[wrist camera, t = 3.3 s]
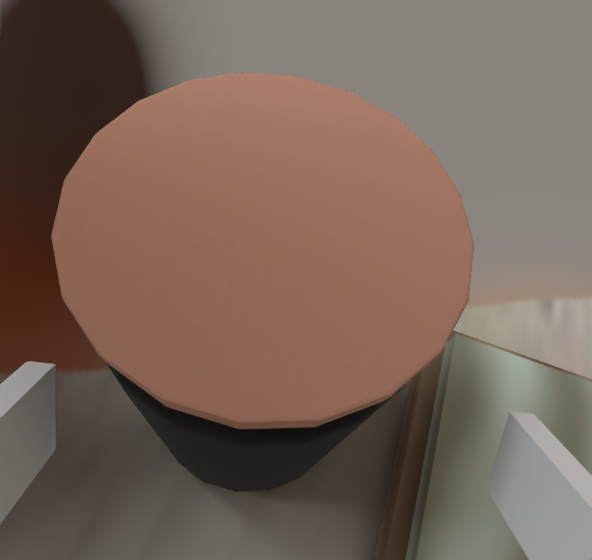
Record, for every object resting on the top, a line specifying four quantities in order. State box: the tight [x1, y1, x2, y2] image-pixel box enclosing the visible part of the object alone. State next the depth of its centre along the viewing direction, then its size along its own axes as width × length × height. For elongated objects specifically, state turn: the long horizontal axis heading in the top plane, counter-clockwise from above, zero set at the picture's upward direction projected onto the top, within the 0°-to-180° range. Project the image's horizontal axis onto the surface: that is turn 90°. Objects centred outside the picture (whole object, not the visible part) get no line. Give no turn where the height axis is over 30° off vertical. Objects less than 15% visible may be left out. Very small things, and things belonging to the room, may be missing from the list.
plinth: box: [373, 331, 592, 560], centre depth 26 cm, size 14×14×4 cm
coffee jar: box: [52, 73, 474, 491], centre depth 20 cm, size 11×11×18 cm
